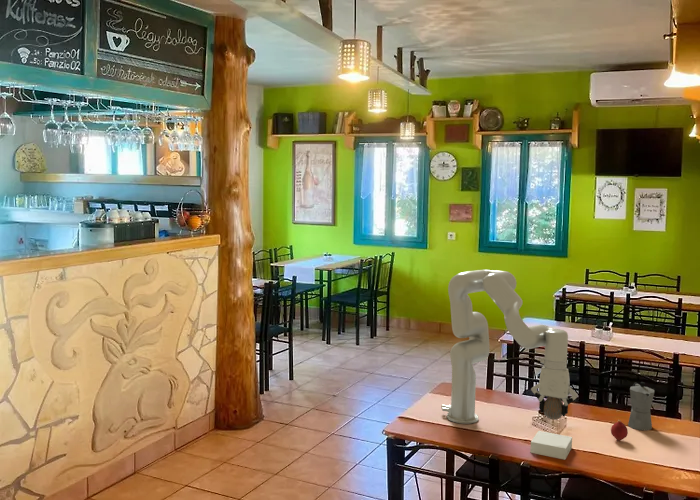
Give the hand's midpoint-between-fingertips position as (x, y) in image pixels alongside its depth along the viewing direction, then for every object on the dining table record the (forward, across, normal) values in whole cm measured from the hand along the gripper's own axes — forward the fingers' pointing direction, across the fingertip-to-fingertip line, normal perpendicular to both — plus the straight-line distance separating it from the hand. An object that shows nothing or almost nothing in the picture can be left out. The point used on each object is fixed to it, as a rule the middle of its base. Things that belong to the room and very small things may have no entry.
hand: (553, 413), depth 238 cm
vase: (+2, 0, 0) cm, 2 cm away
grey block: (+14, 0, 0) cm, 14 cm away
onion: (+14, +20, +22) cm, 33 cm away
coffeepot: (+14, +25, +43) cm, 52 cm away
